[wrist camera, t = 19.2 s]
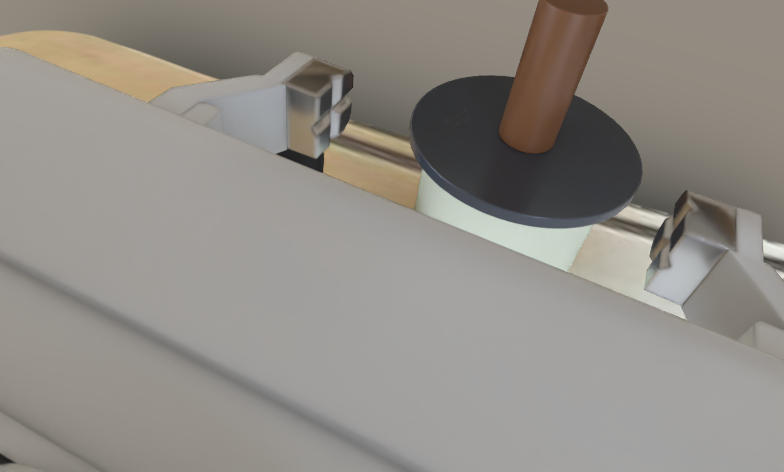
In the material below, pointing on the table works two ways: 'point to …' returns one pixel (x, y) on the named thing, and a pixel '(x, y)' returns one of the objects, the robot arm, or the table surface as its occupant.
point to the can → (501, 227)
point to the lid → (531, 132)
